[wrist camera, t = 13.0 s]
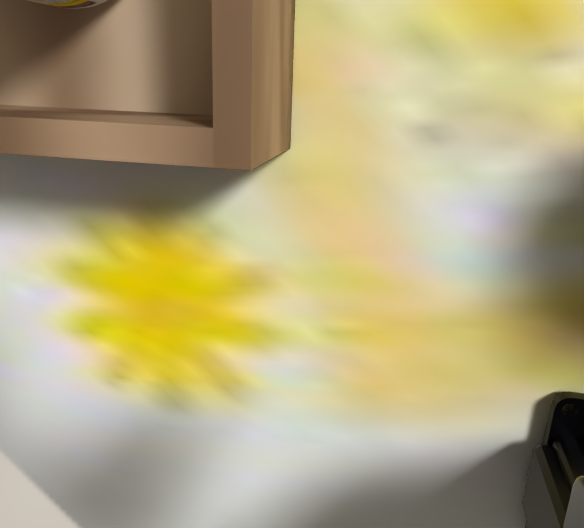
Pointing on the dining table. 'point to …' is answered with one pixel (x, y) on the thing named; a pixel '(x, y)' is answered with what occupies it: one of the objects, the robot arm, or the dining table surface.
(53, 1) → the supplement bottle
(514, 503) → the dining table surface
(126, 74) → the walnut box
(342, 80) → the dining table surface
